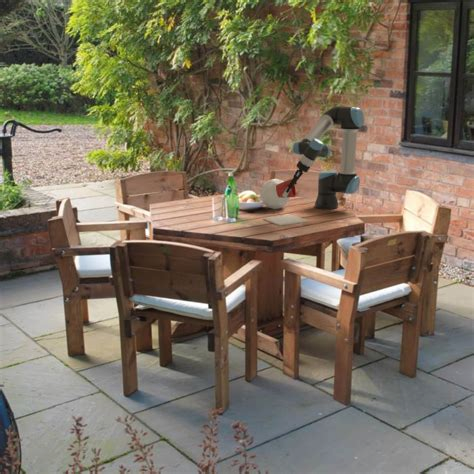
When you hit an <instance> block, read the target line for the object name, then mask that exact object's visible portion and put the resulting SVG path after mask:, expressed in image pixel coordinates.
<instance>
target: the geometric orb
mask: <svg viewBox="0 0 474 474" xmlns="http://www.w3.org/2000/svg"><path fill="white" fill-rule="evenodd" d="M282 182H285V181H284V180H281V179H278V178H273V179H269V180H266V182H264V184H262V186H261V190H260V192H259V196H260V198H261V202H262V201H263V202H262V204H263V205H265V207H267V208H268V209H269V208H270V209H272V210H278V209H282V208H285V206H286V205H287V204H288V203H289V201H290V198H291V197H288V198H279V197H278V195H277V192H276V185H277V184H280V183H282Z"/></svg>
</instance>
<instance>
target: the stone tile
mask: <svg viewBox="0 0 474 474" xmlns="http://www.w3.org/2000/svg"><path fill="white" fill-rule="evenodd" d="M262 219H263V221H267V222H269V223H271V224H274V225H277V226H278V227H284V226H289V225H298V224H304V223H309V220H307V219H304V218H301V217H299V216H295V215H293V214H287V215H280V216H279V215H278V216H270V217H264V218H262Z"/></svg>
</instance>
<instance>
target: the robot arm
mask: <svg viewBox="0 0 474 474" xmlns="http://www.w3.org/2000/svg"><path fill="white" fill-rule="evenodd" d="M364 122H365V116H364V112H363V111H362V109H361V108H360V107H355V106H340V105H339V106H334V107H331V108H330V109H327V110H326V111H324V113H323V114H322V115H321V116H320V117H319V120H318V121H317V122H316V124H315V125H314V126H313V127H312V128H311V129H310V130H309V132H308V133H307V134H306V135H305V136H304V138H303V139H302V140H301V141H295V142H294V143H293V145H292V152H293V153H294V155H299V156H301V157H300V158H299V159H300V160H299V161H298V162H297V163H296V168H297V170H296V171H295V173H294V175H293V177H292V178H291V179H292V181H291V182H290V184H289V185H287V188H286V190H285V192H284V193H283V195H282V196H284V197H285V198H286V197H287V196H288V194H289V192H290V191H291V189H292V187H293V185H295V186H296V185H297V184H298V183H297V182H298V180H299V179H300V178H301V177H302V176H303V174H304V173H308V171H309V170H310V168H311V167H312V166H313V164H314V163H315V161H316V159H317V158H323V159H324V158H327V157H330V155H331V152H332V150H331V146H329V145H327V144H324V142H322V141H321V140H320V139H321V138H322V137H323V136H324V134H325V133H326V132H327V131H328V130H329V129H331V128H333V126H340V130H341V131H342V141H341V142H342V144H341V159H340V160H341V161H340V170H338V171H337V170H326V171H321V172H320V173H319V174H318V178H317V179H318V183H317V186H318V188H317V195H316V199H315V202H314V207H315V208H316V209H322V210H335V209H338V208H339V202H338V198H337V193H341V194H346V195H354V194H355V193H357V192H358V189H359V187H360V184H361V180H360V177H359V176H358V175H357V174H358V173H357V172H356V170H355V169H356V168H355V166H356V151H357V135H358V131H360V130H361V129H360V128H361V127H362V126H363V125H364ZM303 172H304V173H303ZM290 185H291V186H290Z"/></svg>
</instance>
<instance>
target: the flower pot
mask: <svg viewBox="0 0 474 474" xmlns="http://www.w3.org/2000/svg"><path fill="white" fill-rule="evenodd" d="M292 179H293V178H290V179H287V180H285V181H284V182H282V183H280V184H277V185H276V192H277V195H278V197H279V198H285V197H284V196H282V195H283V193H284V192H285V190H286V188H287V185H289V184H290V182H291V181H292ZM290 186H291V185H290ZM296 190H297V189H296V184H295V185H293V187H292V189H291V191H290V192H289V194H288V196H287V197H286V198H288V197H290V198H296V195H297V192H296Z"/></svg>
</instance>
